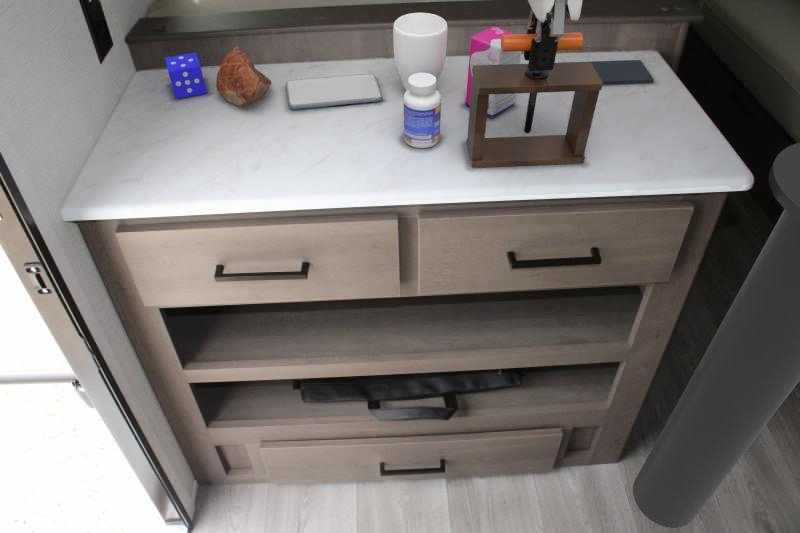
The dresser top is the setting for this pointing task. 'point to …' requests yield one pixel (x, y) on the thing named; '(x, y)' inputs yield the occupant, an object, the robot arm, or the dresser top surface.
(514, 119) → the dresser top surface
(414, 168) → the dresser top surface
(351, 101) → the smartphone
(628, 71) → the mat
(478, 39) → the supplement box
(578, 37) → the T-handle
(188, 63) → the die
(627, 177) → the dresser top surface
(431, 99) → the pill bottle
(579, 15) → the robot arm
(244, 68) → the reddish-brown rock
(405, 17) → the mug
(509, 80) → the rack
